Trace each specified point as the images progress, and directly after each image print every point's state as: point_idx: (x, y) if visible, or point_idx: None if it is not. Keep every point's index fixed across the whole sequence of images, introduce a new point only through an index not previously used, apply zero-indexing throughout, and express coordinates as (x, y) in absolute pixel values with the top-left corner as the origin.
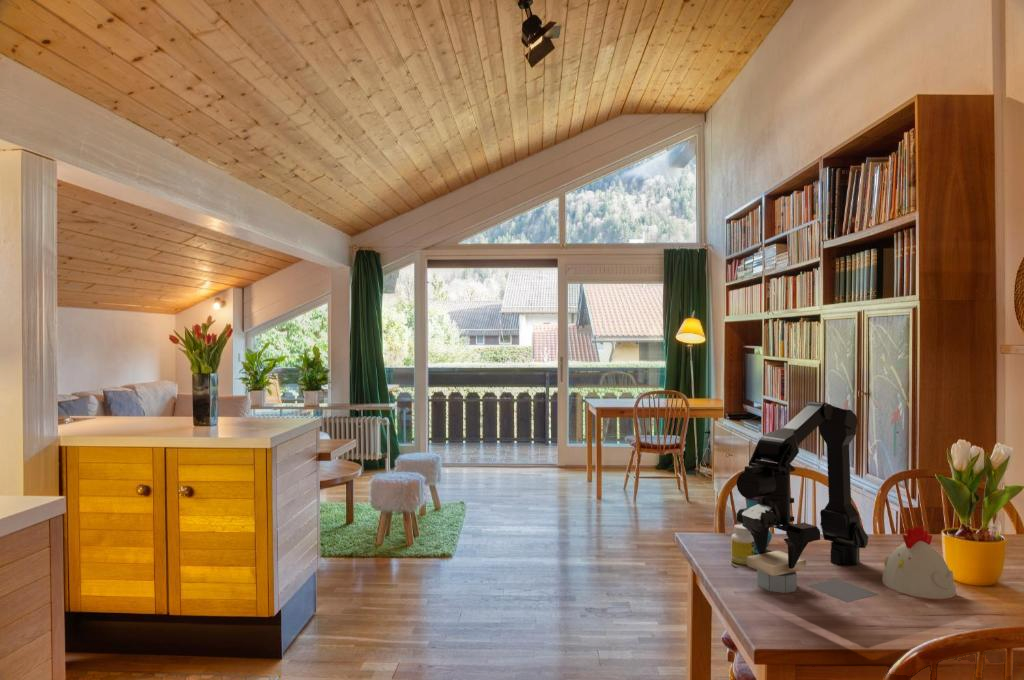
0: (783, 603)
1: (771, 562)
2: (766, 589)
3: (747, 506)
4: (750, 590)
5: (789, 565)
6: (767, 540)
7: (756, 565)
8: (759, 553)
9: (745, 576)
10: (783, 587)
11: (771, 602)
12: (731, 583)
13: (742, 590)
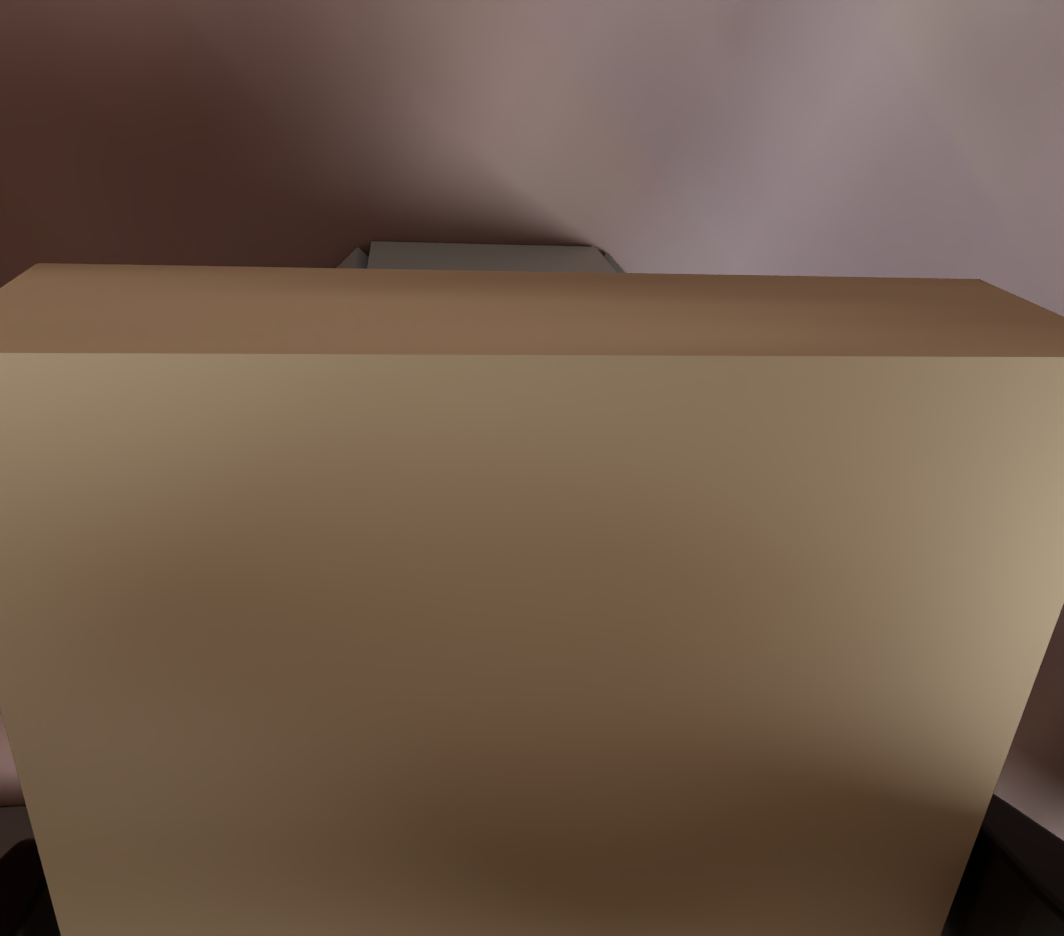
0: (94, 262)
1: (340, 625)
2: (417, 268)
3: None
4: (710, 210)
5: (7, 889)
6: None
7: (686, 301)
8: (1021, 831)
9: None
10: None
11: (193, 113)
12: (1051, 164)
13: (782, 87)
